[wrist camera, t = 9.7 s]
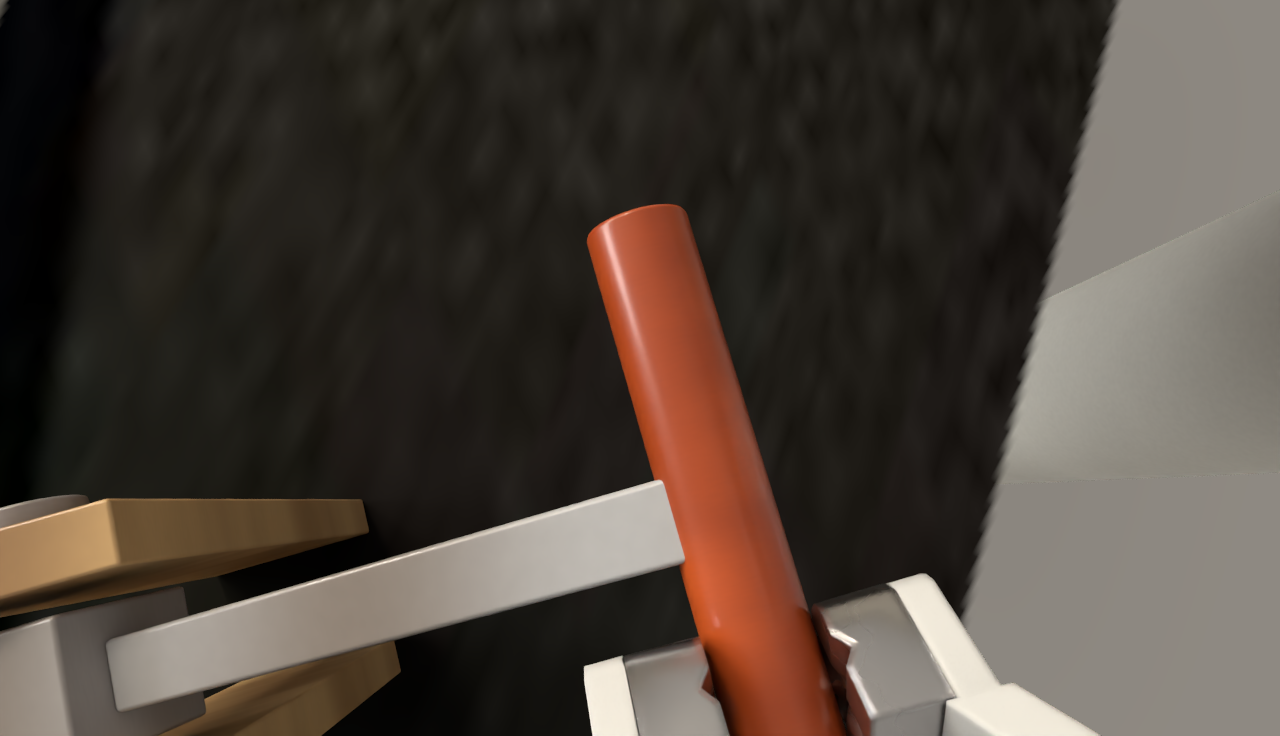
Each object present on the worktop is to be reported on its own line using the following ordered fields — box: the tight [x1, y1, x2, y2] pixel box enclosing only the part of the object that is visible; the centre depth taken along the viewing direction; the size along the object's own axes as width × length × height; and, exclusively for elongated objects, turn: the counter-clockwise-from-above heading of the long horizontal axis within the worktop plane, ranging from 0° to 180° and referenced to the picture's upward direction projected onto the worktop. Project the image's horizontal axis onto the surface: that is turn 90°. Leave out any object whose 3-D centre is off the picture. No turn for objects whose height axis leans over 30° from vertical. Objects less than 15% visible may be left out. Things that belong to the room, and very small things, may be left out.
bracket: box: [0, 495, 401, 736], centre depth 18 cm, size 12×9×14 cm
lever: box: [0, 204, 847, 736], centre depth 12 cm, size 13×8×2 cm, turn 106°
